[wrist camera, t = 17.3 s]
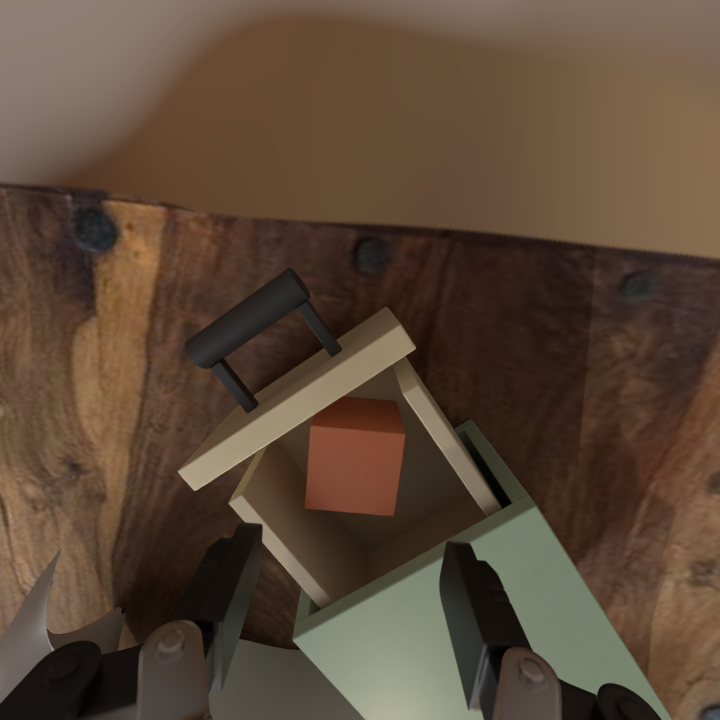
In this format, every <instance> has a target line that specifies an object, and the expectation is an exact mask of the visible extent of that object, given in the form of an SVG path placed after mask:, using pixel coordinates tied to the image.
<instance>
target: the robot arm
mask: <svg viewBox="0 0 720 720" xmlns="http://www.w3.org/2000/svg"><path fill="white" fill-rule="evenodd" d="M262 534H263V525H262V524H258V523H246V522H240V523H239V525H238V527H237V529H236V531H235V533H234V535H233V537H232V538H225V537H221V538H219V539H218V540H217V541H216V542H215V543H214V544H213V545H212V546H210V547H209V548H208V550H207V552H206V554H205V556H204V557H203V559H202V561H201V564H200V565H199V567H198V568H197V570H196V572H195V575H194V576H193V578H192V579H191V581H190V583H189V585H188V587H187V589H186V591H185V592H184V594H183V596H182V598H181V600H180V602H179V603H178V605H177V607H176V609H175V611H174V613H173V615H172V616H171V618H170V620H169V621H168V623H167V624H165V625H163V626H161V627H159V628H158V629H156V630H155V631H154V632H153V633H152V634H151V635H150V636H149V637H148V638H147V639H146V641H145V642H144V643H143V644H140V645H138V646H135V647H132V648H129V649H124V650H120V651H116V652H111V653H107V654H103V655H101V650H100V647H99V646H98V645H97V644H96V643H94V642H91V641H86V640H83V641H75V642H71V643H68V644H66V645H63V646H61V647H59V648H57V649H55V650H54V651H52V652H51V653H49V654H48V655H47V656H45V657H44V658H43V659H42V660H41V661H40V662H38V663H37V664H36V665H35V667H34V668H33V669H32V670H31V671H30V672H29V673H28V674H27V675H26V676H25V677H24V678H23V679H22V681H21V682H20V683H19V684H18V685H17V686H16V687H15V688H14V689H13V690H12V691H11V692H10V693H9V695H8V696H7V697H6V698H5V699H4V700H3V701H2V702H1V703H0V720H213V717H212V716H211V714H210V707H209V697H208V696H209V693H210V690H214V691H222V689H223V686H224V682H225V679H226V676H227V673H228V670H229V667H230V664H231V661H232V658H233V655H234V652H235V649H236V646H237V643H238V640H239V637H240V634H241V630H242V627H243V624H244V621H245V618H246V615H247V612H248V609H249V606H250V603H251V600H252V597H253V594H254V591H255V588H256V585H257V581H258V577H259V573H260V567H261V555H262ZM439 592H440V598H441V603H442V607H443V611H444V615H445V619H446V623H447V627H448V631H449V635H450V639H451V643H452V647H453V651H454V655H455V659H456V663H457V667H458V671H459V675H460V679H461V683H462V687H463V691H464V695H465V699H466V703H467V707H468V711H476V712H482V715H483V719H484V720H662V719H661V718H660V717H659V715H658V714H657V713H656V712H655V710H654V709H653V708H652V707H651V706H650V705H649V704H648V703H647V702H646V701H645V700H644V699H643V698H642V697H640V696H639V695H638V694H636V693H635V692H633V691H632V690H630V689H628V688H626V687H624V686H621V685H619V684H614V683H606V684H603V685H602V686H601V687H600V688H599V690H598V692H597V695H596V694H594V693H591V692H589V691H586V690H584V689H581V688H579V687H576V686H574V685H571V684H569V683H567V682H565V681H563V680H561V679H559V678H558V676H557V674H556V673H555V671H554V670H553V668H552V667H551V666H550V664H549V663H548V662H547V661H546V660H545V659H543V658H542V657H541V656H540V655H538V654H537V653H535V652H533V650H532V648H531V646H530V643H529V641H528V639H527V637H526V635H525V632H524V630H523V628H522V626H521V624H520V622H519V619H518V617H517V615H516V613H515V611H514V608H513V606H512V604H511V603H510V600H509V597H508V595H507V593H506V591H504V587H503V584H502V582H501V580H500V578H499V576H498V574H497V572H496V571H495V570H494V569H493V568H492V567H491V566H490V565H489V564H488V563H487V561H483V560H477V558H476V555H475V553H474V550H473V548H472V546H471V544H470V543H467V542H456V541H447V543H446V546H445V551H444V556H443V562H442V567H441V572H440V578H439Z"/></svg>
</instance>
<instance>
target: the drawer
mask: <svg viewBox="0 0 720 720" xmlns="http://www.w3.org/2000/svg"><path fill="white" fill-rule="evenodd" d="M309 298H310V293H309V291H308V289H307V288H306V286H305V284H304V283H303V281H302V280H301V279H300V277H299V276H298V275H297V274H296V273H295V272H294V271H293V270H292V269H291V268H288V269H287V270H285V271H284V272H282V273H281V274H280V275H278V276H277V277H275V278H274V279H273V280H271V281H270V282H268V283H267V284H266V285H264V286H263V287H262V288H260V289H259V290H257V291H256V292H255V293H253V294H252V295H250V296H249V297H248V298H246V299H245V300H243V301H242V302H241V303H239V304H238V305H236V306H235V307H234V308H232V309H231V310H230V311H228V312H227V313H225V314H224V315H223V316H221V317H220V318H218V319H217V320H216V321H214V322H213V323H211V324H210V325H209V326H207V327H206V328H204V329H203V330H202V331H200V332H199V333H198V334H196V335H195V336H193V337H192V338H191V339H189V340H188V341H187V342H186V343H185V350H186V352H187V354H188V356H189V357H190V358H191V360H192V361H193V362H194V363H195V364H197V365H198V366H199V367H201V368H204V369H208V368H210V367H211V370H212V371H213V372H214V373H215V375H216V376H217V377H218V378H219V379H220V381H221V382H222V383H223V384H224V386H225V387H226V388H227V389H228V391H229V392H230V393H231V394H232V396H233V397H234V398H235V399H236V401H237V402H238V403H239V404H240V405H239V406H237V407H236V408H234V409H233V410H232V411H231V412H230V414H229V415H228V416H227V417H226V418H225V419H224V420H223V421H222V422H221V424H220V425H219V426H218V427H217V428H216V429H215V430H214V431H213V432H212V433H211V435H210V436H209V437H208V438H207V439H206V440H205V441H204V442H203V443H202V444H201V446H200V447H199V448H198V449H197V450H196V451H195V452H194V453H193V454H192V455H191V457H190V458H189V459H188V460H187V461H186V462H185V463H184V464H183V465H182V466H181V468H180V469H179V470H178V473H179V474H180V475H181V476H182V478H183V479H184V480H185V481H186V482H187V483H188V484H189V485H190V487H191V488H192V489H193V490H194V491H196V490H198V489H199V488H201V487H202V486H204V485H206V484H207V483H209V482H210V481H212V480H213V479H215V478H216V477H218V476H220V475H221V474H223V473H224V472H226V471H227V470H229V469H230V468H232V467H233V466H235V465H237V464H238V463H240V462H241V461H243V460H244V459H246V458H247V457H249V456H251V455H252V454H254V453H255V452H257V453H256V455H255V456H254V458H253V460H252V462H251V463H250V465H249V467H248V469H247V471H246V472H245V474H244V476H243V478H242V479H241V481H240V483H239V485H238V487H237V488H236V490H235V492H234V494H233V495H232V497H231V499H230V501H229V504H230V506H231V507H232V508H233V509H234V510H235V511H236V512H237V514H238V515H239V516H240V517H241V518H242V519H243V520H244V522H246V523H258V524H262V525H263V534H262V542H263V543H264V545H265V546H266V547H267V548H268V549H269V550H270V551H271V553H272V554H273V555H274V556H275V557H276V558H277V560H278V561H279V562H280V563H281V564H282V565H283V566H284V568H285V569H286V570H287V571H288V572H289V573H290V574H291V576H292V577H293V578H294V579H295V580H296V581H297V582H298V584H299V585H300V586H301V587H302V588H303V589H304V591H305V592H306V593H307V594H308V595H309V596H310V597H311V599H312V600H313V601H314V602H315V603H316V604H317V605H318V607H319V608H320V609H321V610H322V609H323V608H325V607H327V606H329V605H331V604H332V603H334V602H336V601H338V600H340V599H341V598H343V597H345V596H347V595H349V594H350V593H352V592H354V591H356V590H358V589H359V588H361V587H363V586H365V585H367V584H368V583H370V582H372V581H374V580H376V579H377V578H379V577H381V576H383V575H385V574H386V573H388V572H390V571H392V570H394V569H395V568H397V567H399V566H401V565H403V564H404V563H406V562H408V561H410V560H412V559H413V558H415V557H417V556H419V555H421V554H422V553H424V552H426V551H428V550H430V549H431V548H433V547H435V546H437V545H439V544H440V543H442V542H444V541H446V540H448V539H449V538H451V537H453V536H455V535H457V534H458V533H460V532H462V531H464V530H466V529H467V528H469V527H471V526H473V525H475V524H476V523H478V522H480V521H482V520H484V519H485V518H487V517H489V516H491V515H493V514H494V513H496V512H498V511H500V510H502V509H503V508H504V506H503V504H502V503H501V501H500V499H499V498H498V496H497V495H496V493H495V491H494V490H493V488H492V486H491V485H490V483H489V482H488V480H487V479H486V477H485V476H484V474H483V473H482V471H481V470H480V468H479V467H478V465H477V464H476V462H475V461H474V459H473V458H472V456H471V455H470V453H469V452H468V450H467V449H466V447H465V446H464V444H463V443H462V441H461V439H460V438H459V436H458V435H457V433H456V432H455V430H454V429H453V427H452V426H451V424H450V423H449V421H448V420H447V418H446V417H445V415H444V414H443V412H442V411H441V409H440V408H439V406H438V405H437V403H436V402H435V400H434V399H433V397H432V396H431V394H430V393H429V391H428V390H427V388H426V387H425V385H424V384H423V382H422V381H421V379H420V378H419V376H418V375H417V373H416V372H415V370H414V369H413V367H412V366H411V364H410V362H409V361H408V359H407V358H406V355H407V354H409V353H410V352H412V351H413V350H415V349H416V347H415V345H414V343H413V342H412V340H411V339H410V337H409V336H408V334H407V333H406V331H405V330H404V328H403V327H402V325H401V324H400V322H399V321H398V320H397V319H396V317H395V316H394V315H393V314H392V312H391V311H390V310H389V308H388V307H385V308H383V309H382V310H380V311H379V312H377V313H376V314H374V315H373V316H371V317H370V318H368V319H367V320H365V321H364V322H362V323H361V324H359V325H358V326H356V327H355V328H353V329H352V330H350V331H349V332H347V333H346V334H344V335H343V336H341V337H340V338H338V339H337V340H336V339H335V337H334V336H333V335H332V333H331V332H330V330H329V329H328V327H327V326H326V325H325V323H324V322H323V320H322V319H321V317H320V316H319V315H318V313H317V312H316V310H315V309H314V307H313V306H312V305H311V303H310V302H309V301H308V299H309ZM296 307H297V310H298V312H299V313H300V314H301V316H302V317H303V319H304V320H305V321H306V323H307V324H308V326H309V327H310V328H311V330H312V331H313V333H314V334H315V335H316V337H317V338H318V340H319V341H320V342H321V344H322V345H323V347H324V349H322V350H321V351H319V352H318V353H316V354H315V355H313V356H312V357H310V358H309V359H307V360H306V361H304V362H303V363H301V364H300V365H298V366H297V367H295V368H294V369H292V370H291V371H289V372H288V373H286V374H285V375H283V376H282V377H280V378H279V379H277V380H276V381H274V382H273V383H271V384H270V385H268V386H267V387H265V388H264V389H262V390H261V391H259V392H258V393H256V394H255V395H254V396H253V395H252V394H251V392H250V391H249V390H248V389H247V387H246V386H245V385H244V384H243V382H242V381H241V380H240V378H239V377H238V376H237V375H236V373H235V372H234V371H233V370H232V368H231V367H230V366H229V365H228V363H227V362H226V361H225V359H223V358H225V357H226V356H228V355H229V354H230V353H232V352H233V351H235V350H236V349H238V348H239V347H241V346H242V345H243V344H245V343H246V342H248V341H249V340H251V339H252V338H253V337H255V336H256V335H258V334H259V333H261V332H262V331H263V330H265V329H266V328H268V327H269V326H271V325H272V324H273V323H275V322H276V321H278V320H279V319H281V318H282V317H283V316H285V315H286V314H288V313H289V312H291V311H292V310H293V309H295V308H296ZM342 396H348V397H359V398H369V399H380V400H390V401H397V405H398V408H399V412H400V415H401V419H402V422H403V426H404V429H405V433H406V439H405V446H404V453H403V460H402V467H401V474H400V481H399V488H398V495H397V502H396V509H395V515H394V516H384V515H373V514H361V513H349V512H338V511H326V510H315V509H305V495H306V482H307V469H308V455H309V442H310V428H311V423H312V420H313V417H314V414H316V413H317V412H319V411H320V410H322V409H323V408H325V407H327V406H328V405H330V404H331V403H333V402H334V401H336V400H337V399H339V398H341V397H342Z"/></svg>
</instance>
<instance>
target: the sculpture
mask: <svg viewBox="0 0 720 720" xmlns="http://www.w3.org/2000/svg"><path fill="white" fill-rule="evenodd" d="M60 551H61V549H60V550H59V552H58V553H57V554H56V556H55V557H54V558H53V560H52V561H51V563H50V564H49V565H48V567H47V568H46V569H45V571H44V572H43V574H42V575H41V577H40V578H39V579H38V581H37V582H36V584H35V585H34V587H33V588H32V590H31V591H30V593H29V595H28V596H27V598H26V599H25V601H24V603H23V604H22V606H21V608H20V609H19V611H18V613H17V614H16V616H15V618H14V620H13V621H12V623H11V625H10V627H9V629H8V631H7V633H6V635H5V636H4V638H3V640H2V643H1V645H0V703H1V702H2V701H3V700H4V699H5V698H6V697H7V696H8V695H9V693H10V692H11V691H12V690H13V689H14V688H15V687H16V686H17V685H18V684H19V683H20V682H21V681H22V679H23V678H24V677H25V676H26V675H27V674H28V673H29V672H30V671H31V670H32V669H33V668H34V667H35V665H36V664H37V663H38V662H40V661H41V660H42V659H43V658H44V657H45V656H47V655H48V654H49V653H51V652H52V651H54V650H55V649H57V648H59V647H61V646H63V645H66V644H68V643H71V642H75V641H83V640H86V641H91V642H94V643H96V644H97V645H98V646H99V647H100V650H101V655H103V654H107V653H111V652H116V651H117V648H118V642H119V638H120V633H121V630H122V627H123V623H124V620H125V617H126V613H123V614H121V612H122V608H120V607H116V608H115V609H113V610H110V611H109V612H108V613H107V614H106V615H105V616H103V617H102V618H101V619H99V620H97V621H95V622H93V623H92V624H90V625H88V626H86V627H83V628H81V629H79V630H76V631H73V632H69V633H64V634H54V633H51V632H50V631H49V630H48V629H47V626H46V612H47V603H48V597H49V591H50V587H51V582H52V578H53V574H54V570H55V567H56V563H57V560H58V557H59V554H60ZM208 697H209V707H210V714H211V716H212V717H213V720H365V719H364V718H363V717H362V715H361V714H360V713H359V712H358V711H357V710H356V709H355V708H354V707H353V706H352V705H351V703H350V702H349V701H348V700H347V699H346V698H345V697H344V696H343V695H342V694H341V693H340V691H339V690H338V689H337V688H336V687H335V686H334V685H333V684H332V683H331V682H330V681H329V679H328V678H327V677H326V676H325V675H324V674H323V673H322V672H321V671H320V670H319V669H318V667H317V666H316V665H315V664H314V663H313V662H312V661H311V660H310V659H309V658H308V657H307V655H306V654H305V653H304V652H303V651H302V650H291V649H283V648H277V647H272V646H267V645H263V644H259V643H255V642H251V641H247V640H242V639H239V640H238V643H237V646H236V649H235V652H234V655H233V658H232V661H231V664H230V667H229V670H228V673H227V676H226V679H225V682H224V686H223V689H222V691H214V690H210V693H209V696H208Z"/></svg>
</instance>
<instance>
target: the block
mask: <svg viewBox="0 0 720 720" xmlns="http://www.w3.org/2000/svg"><path fill="white" fill-rule="evenodd" d="M405 439H406V433H405V429H404V426H403V422H402V419H401V415H400V412H399V408H398V405H397V401H390V400H380V399H369V398H359V397H348V396H342V397H341V398H339V399H337V400H336V401H334V402H333V403H331V404H330V405H328V406H327V407H325V408H323V409H322V410H320V411H319V412H317V413H316V414H314V417H313V420H312V423H311V428H310V442H309V455H308V469H307V482H306V495H305V509H315V510H326V511H338V512H349V513H361V514H373V515H384V516H394V515H395V509H396V502H397V495H398V488H399V481H400V474H401V467H402V460H403V453H404V446H405Z"/></svg>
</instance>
